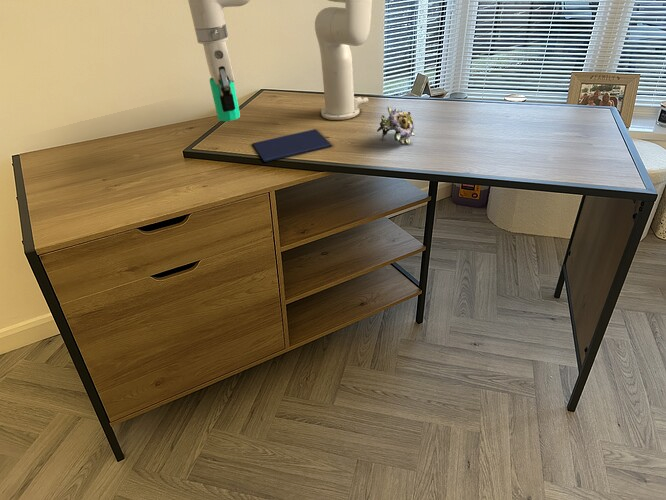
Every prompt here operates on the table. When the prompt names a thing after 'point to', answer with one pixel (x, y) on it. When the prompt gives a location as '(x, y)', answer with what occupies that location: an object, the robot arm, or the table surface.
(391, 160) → the table surface
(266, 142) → the cloth
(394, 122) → the passion flower
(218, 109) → the candle
